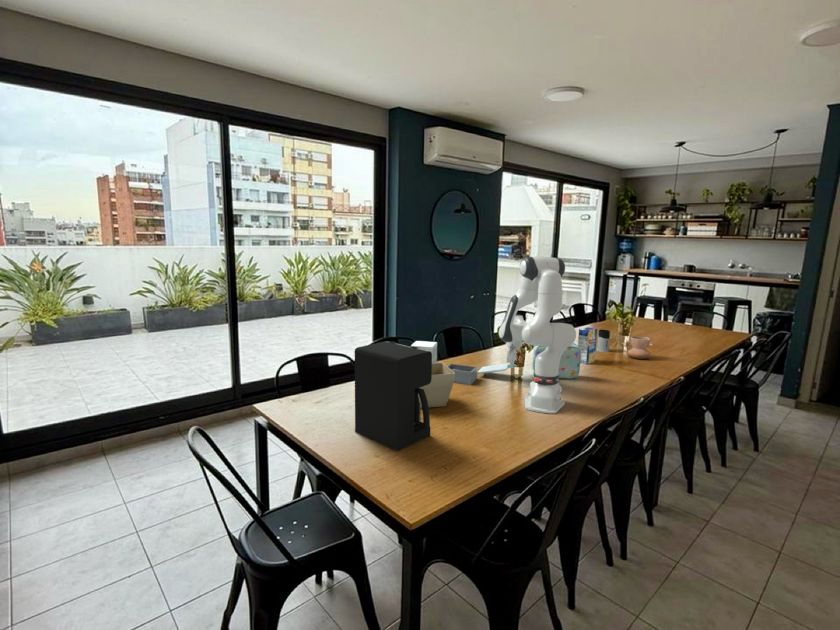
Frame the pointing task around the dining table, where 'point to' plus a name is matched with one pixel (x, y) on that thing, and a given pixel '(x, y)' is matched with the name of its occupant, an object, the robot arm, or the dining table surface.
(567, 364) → the lunch box
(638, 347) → the ceramic jug
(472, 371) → the tub
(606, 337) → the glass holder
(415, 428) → the coffee maker
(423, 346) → the supplement box
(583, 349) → the beverage box
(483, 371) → the lid
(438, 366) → the flower pot
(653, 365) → the dining table surface
